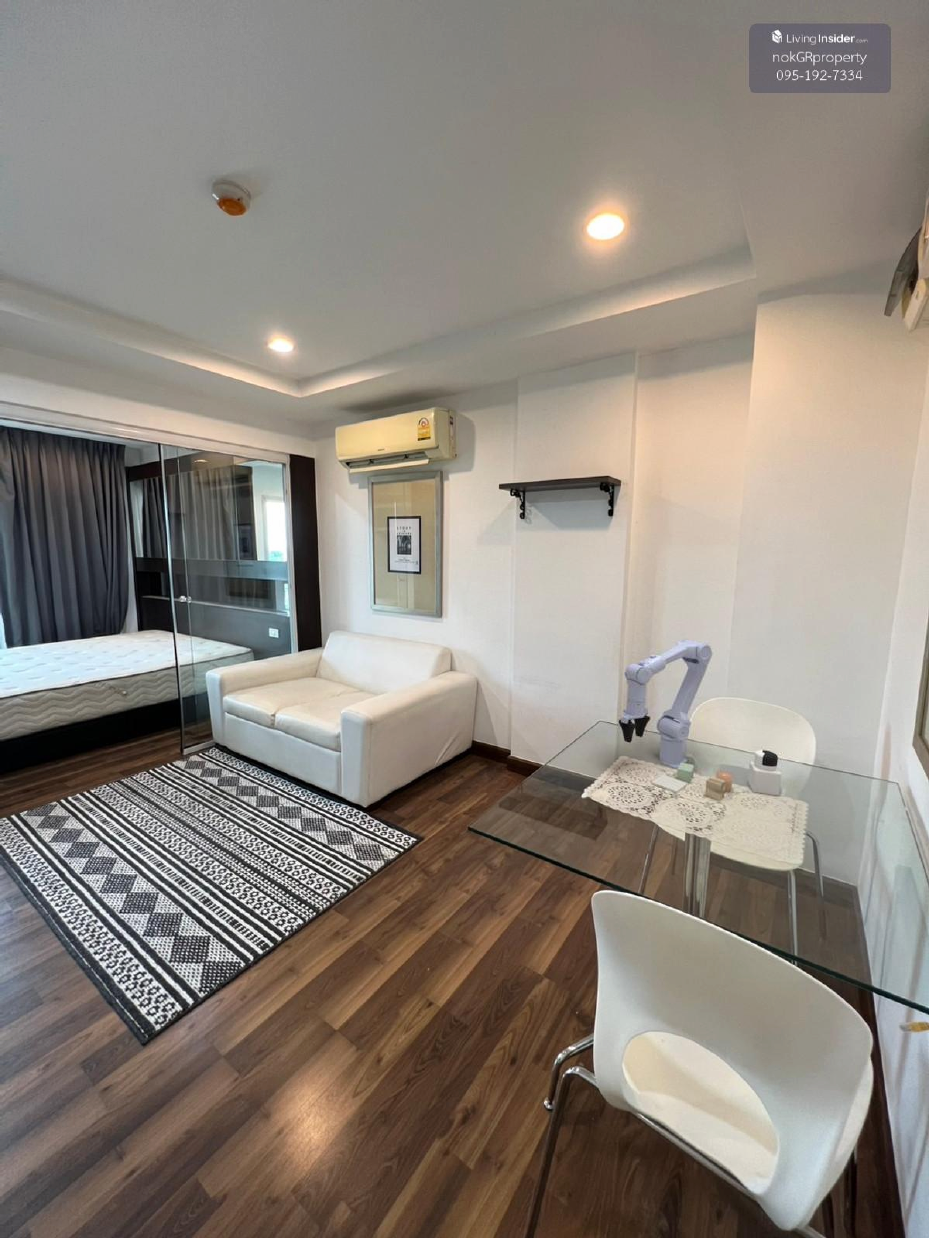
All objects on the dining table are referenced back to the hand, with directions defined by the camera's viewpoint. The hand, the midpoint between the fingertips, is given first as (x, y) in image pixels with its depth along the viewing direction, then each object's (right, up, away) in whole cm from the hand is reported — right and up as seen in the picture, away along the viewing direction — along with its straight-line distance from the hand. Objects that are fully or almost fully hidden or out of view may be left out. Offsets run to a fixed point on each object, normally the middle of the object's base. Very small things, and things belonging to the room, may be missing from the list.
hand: (633, 738), depth 163 cm
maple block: (+19, -13, -17) cm, 28 cm away
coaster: (+8, -12, -10) cm, 18 cm away
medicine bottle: (+36, -13, -12) cm, 40 cm away
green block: (+13, -10, -8) cm, 19 cm away
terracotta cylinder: (+24, -13, -13) cm, 30 cm away
